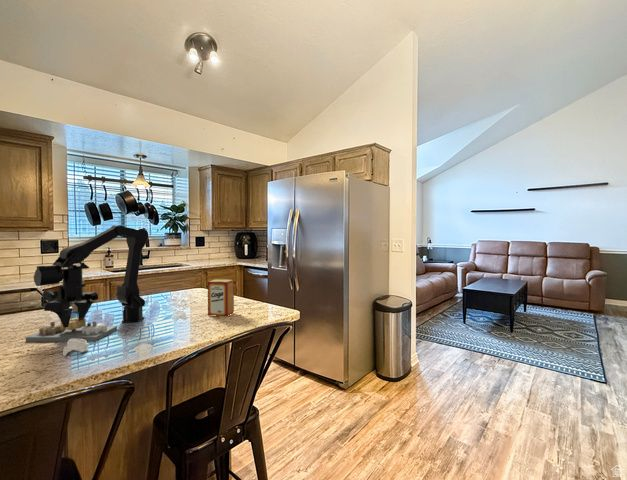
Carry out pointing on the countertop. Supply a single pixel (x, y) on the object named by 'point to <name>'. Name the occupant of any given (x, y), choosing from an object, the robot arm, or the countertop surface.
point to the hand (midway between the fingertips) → (73, 324)
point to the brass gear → (74, 324)
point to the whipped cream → (75, 346)
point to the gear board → (71, 332)
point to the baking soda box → (220, 297)
